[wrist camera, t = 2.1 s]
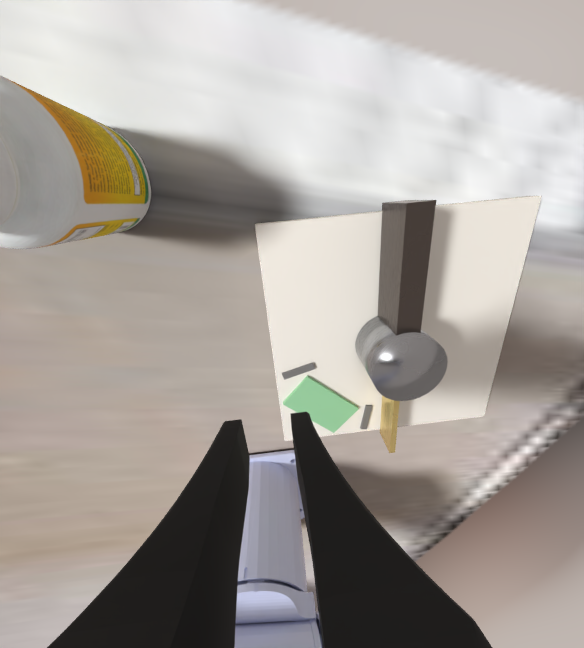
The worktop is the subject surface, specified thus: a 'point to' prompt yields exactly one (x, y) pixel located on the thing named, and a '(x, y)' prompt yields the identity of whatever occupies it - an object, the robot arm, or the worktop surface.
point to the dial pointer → (401, 315)
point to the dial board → (362, 305)
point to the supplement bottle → (63, 174)
